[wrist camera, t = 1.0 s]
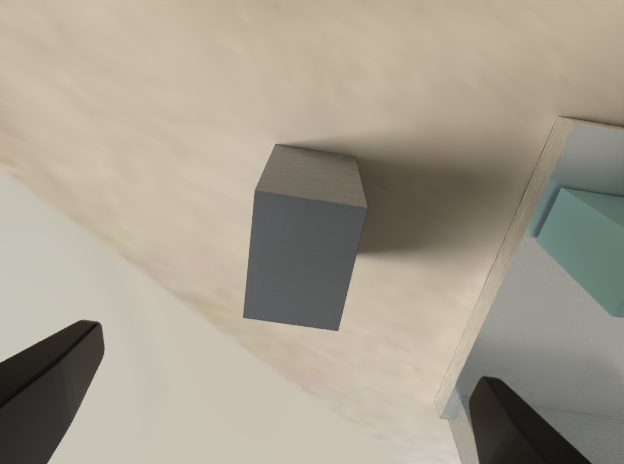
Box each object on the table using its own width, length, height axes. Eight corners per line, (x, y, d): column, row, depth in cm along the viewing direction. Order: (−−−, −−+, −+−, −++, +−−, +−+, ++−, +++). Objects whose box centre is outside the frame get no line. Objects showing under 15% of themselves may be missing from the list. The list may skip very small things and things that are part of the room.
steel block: (355, 156, 17) (367, 207, 12) (334, 254, 19) (338, 330, 14) (275, 144, 17) (255, 190, 12) (264, 244, 19) (243, 317, 14)
